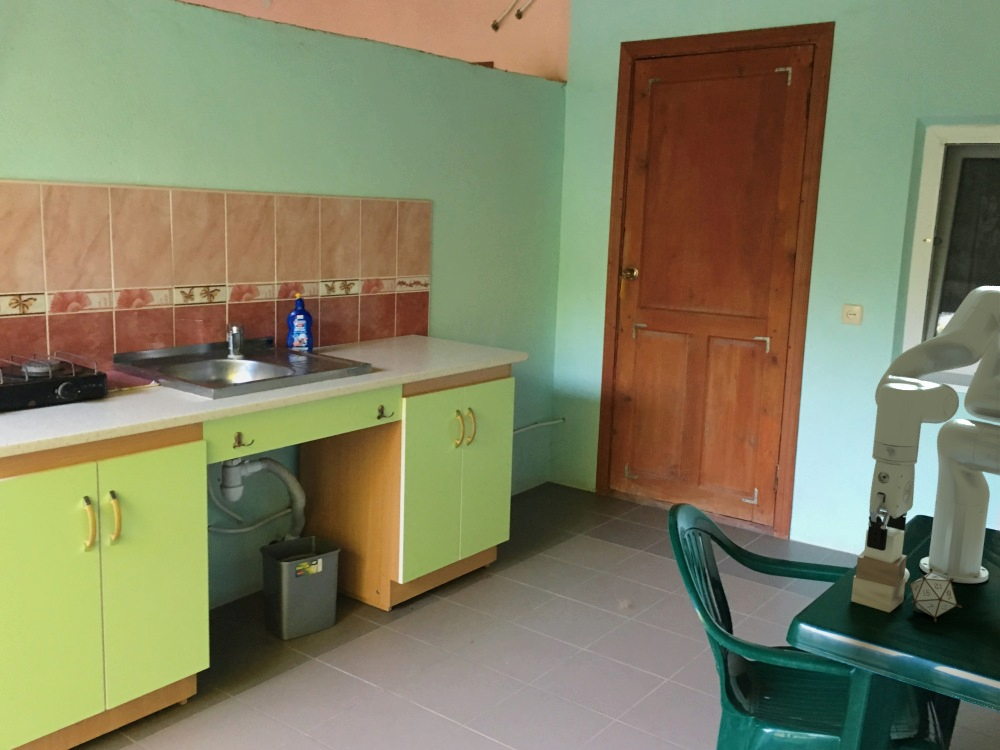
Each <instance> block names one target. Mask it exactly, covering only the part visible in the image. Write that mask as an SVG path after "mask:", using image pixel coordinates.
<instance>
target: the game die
mask: <svg viewBox="0 0 1000 750" xmlns="http://www.w3.org/2000/svg"><path fill="white" fill-rule="evenodd" d="M929 570H930V573H926V574H925V575H922V576H921V577H920V578H918V579H916V580H914V581H912V582H911V583H910V582H909V581H907V582H905V583H906V584H905V585H907V586H909V587H910V590H911V591H910V592H911V594H912V597H913V598H912V599H913V600H912V599H911V604H914V605H915V606H914V607H913V608H912V611H915V612H916V611H917V610H919V611H921V612H923V613H925V614H928V615H929V616H931V617H933V621H934V623H937V621H938V619H937V617H939V616H941V615H942V614H945V613H946V612H948V611H950V610H952V609H954V608H955V607H957V608H959V609H960V608H962V605H961V604H958V603H957V598H956V595H955V592H954V591H955V590H954V589H955V586H954V585H952V581H953V580H954V578H951V579H950V580H947V579H945V578H943V577H941V576H939V575H937V574H935V573H932V570H933V569H932V568H930V569H929Z"/></svg>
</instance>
